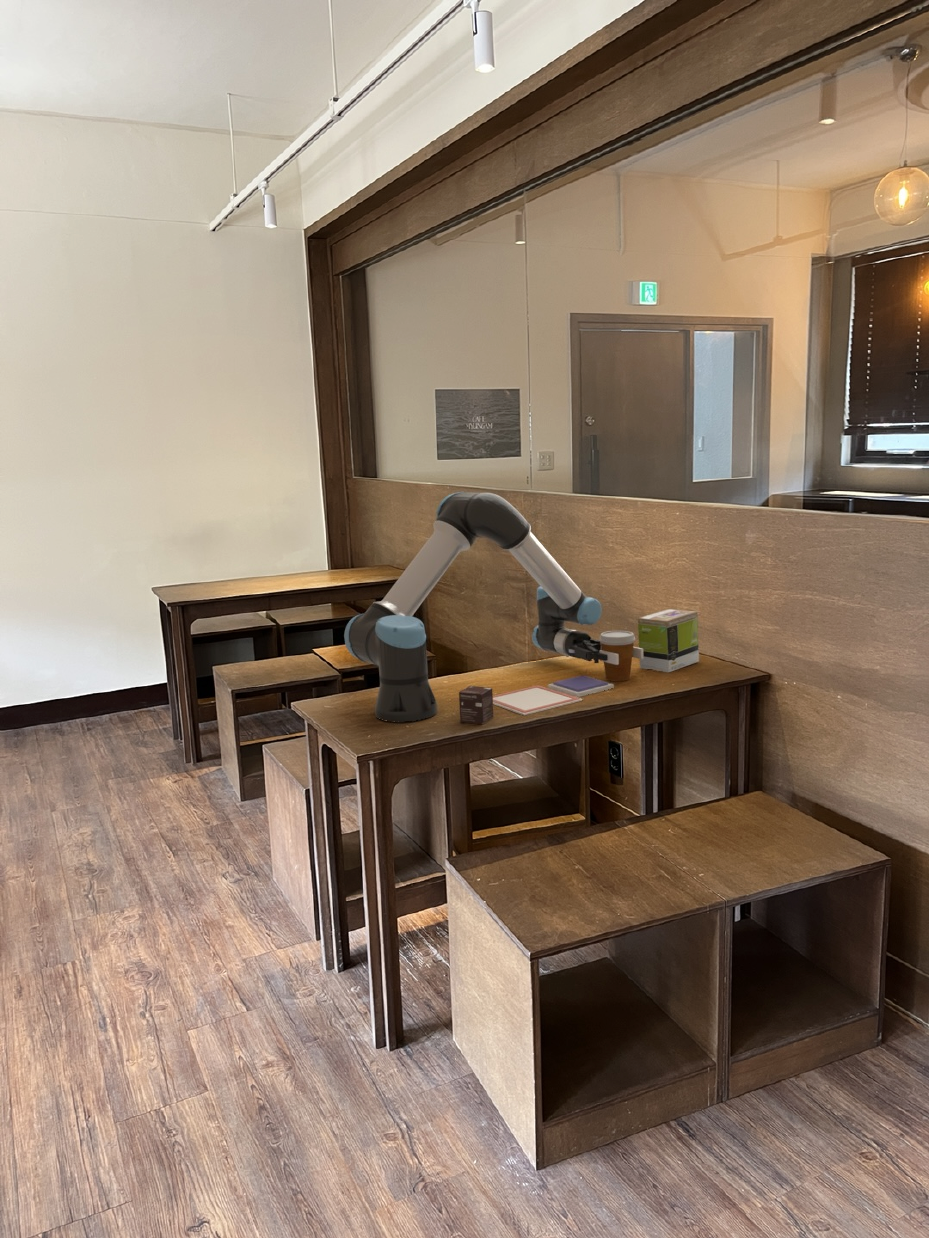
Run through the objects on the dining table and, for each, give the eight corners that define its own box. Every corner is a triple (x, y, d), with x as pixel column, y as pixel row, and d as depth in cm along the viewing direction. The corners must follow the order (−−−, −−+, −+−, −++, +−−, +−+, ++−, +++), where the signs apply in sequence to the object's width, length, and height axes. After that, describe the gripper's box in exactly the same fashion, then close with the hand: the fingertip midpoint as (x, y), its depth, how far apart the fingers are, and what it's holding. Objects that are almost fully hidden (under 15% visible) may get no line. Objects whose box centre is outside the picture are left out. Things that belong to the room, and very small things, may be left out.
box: (459, 722, 205) (457, 692, 204) (471, 715, 210) (469, 685, 209) (482, 724, 202) (481, 694, 201) (494, 717, 207) (492, 687, 206)
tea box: (669, 658, 255) (668, 607, 252) (699, 662, 247) (699, 611, 245) (638, 668, 245) (637, 616, 242) (668, 673, 238) (667, 620, 235)
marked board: (524, 715, 207) (523, 713, 207) (481, 700, 222) (481, 697, 222) (582, 700, 217) (582, 698, 217) (538, 686, 232) (537, 684, 232)
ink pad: (577, 697, 220) (577, 691, 220) (548, 688, 230) (547, 682, 230) (613, 688, 226) (613, 682, 226) (583, 679, 236) (583, 673, 236)
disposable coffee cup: (620, 684, 228) (619, 639, 226) (592, 678, 235) (591, 634, 233) (643, 677, 234) (642, 632, 232) (615, 671, 241) (614, 628, 239)
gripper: (601, 650, 255) (659, 663, 236) (544, 662, 244) (600, 677, 225) (601, 625, 253) (658, 636, 234) (544, 636, 242) (599, 649, 223)
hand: (630, 656), depth 230 cm, fingers closed on disposable coffee cup, 8 cm apart
